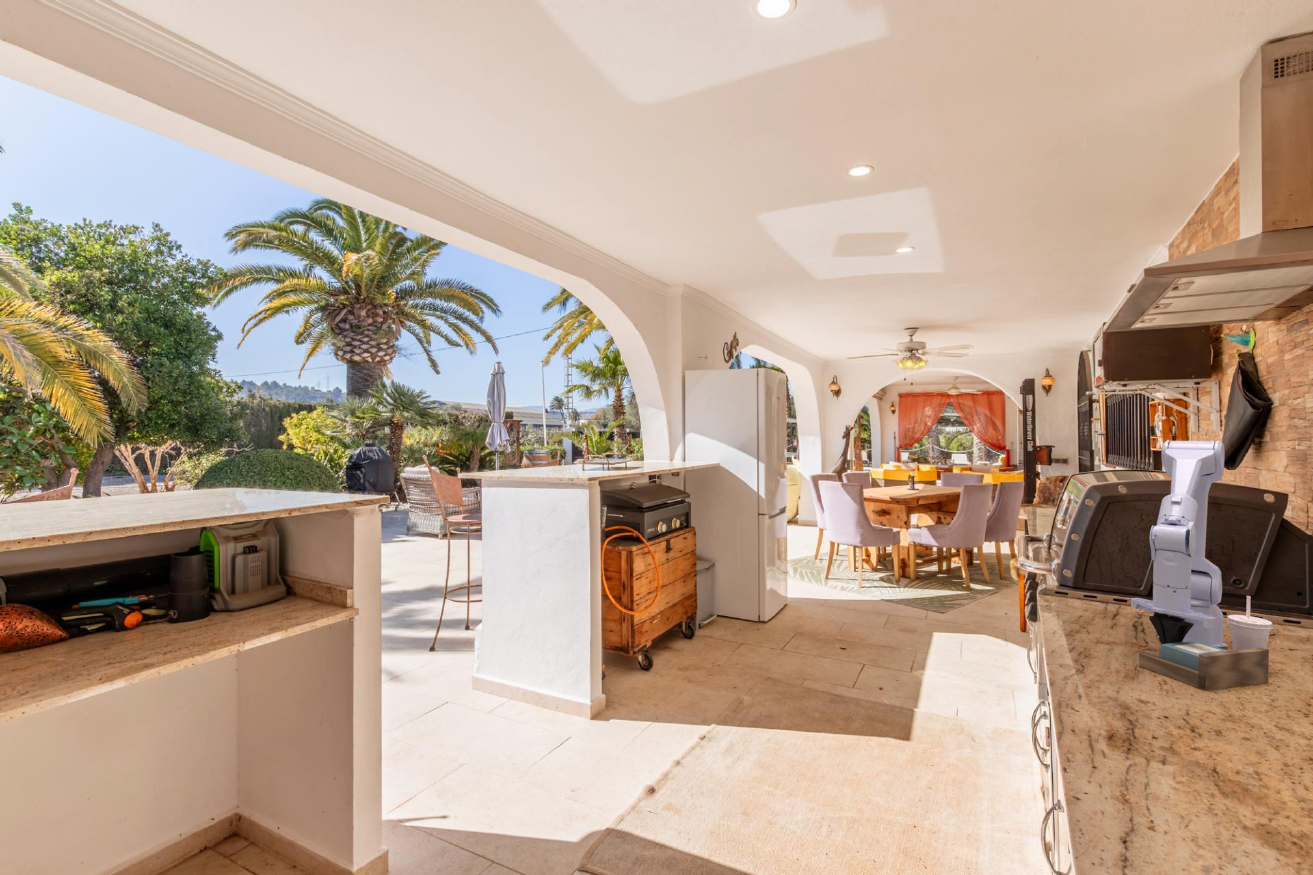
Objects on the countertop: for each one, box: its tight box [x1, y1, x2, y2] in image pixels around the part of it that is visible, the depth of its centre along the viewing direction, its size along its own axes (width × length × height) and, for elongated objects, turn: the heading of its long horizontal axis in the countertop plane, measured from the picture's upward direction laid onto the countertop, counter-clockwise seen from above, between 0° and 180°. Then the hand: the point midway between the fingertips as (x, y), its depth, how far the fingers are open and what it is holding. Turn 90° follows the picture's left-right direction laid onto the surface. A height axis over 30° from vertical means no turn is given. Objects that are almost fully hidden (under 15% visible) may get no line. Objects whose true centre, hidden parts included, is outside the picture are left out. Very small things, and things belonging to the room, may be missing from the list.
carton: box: [1159, 641, 1229, 672], centre depth 117 cm, size 9×7×5 cm
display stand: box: [1138, 648, 1270, 691], centre depth 116 cm, size 15×12×6 cm
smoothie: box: [1226, 595, 1274, 651], centre depth 119 cm, size 6×6×14 cm
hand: (1170, 653), depth 122 cm, fingers closed
